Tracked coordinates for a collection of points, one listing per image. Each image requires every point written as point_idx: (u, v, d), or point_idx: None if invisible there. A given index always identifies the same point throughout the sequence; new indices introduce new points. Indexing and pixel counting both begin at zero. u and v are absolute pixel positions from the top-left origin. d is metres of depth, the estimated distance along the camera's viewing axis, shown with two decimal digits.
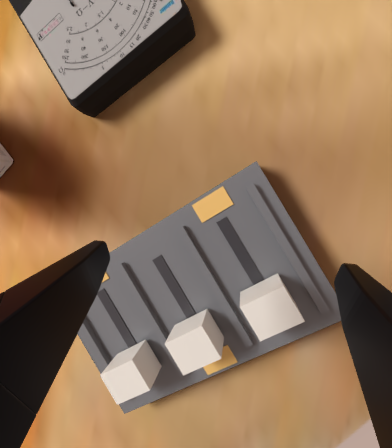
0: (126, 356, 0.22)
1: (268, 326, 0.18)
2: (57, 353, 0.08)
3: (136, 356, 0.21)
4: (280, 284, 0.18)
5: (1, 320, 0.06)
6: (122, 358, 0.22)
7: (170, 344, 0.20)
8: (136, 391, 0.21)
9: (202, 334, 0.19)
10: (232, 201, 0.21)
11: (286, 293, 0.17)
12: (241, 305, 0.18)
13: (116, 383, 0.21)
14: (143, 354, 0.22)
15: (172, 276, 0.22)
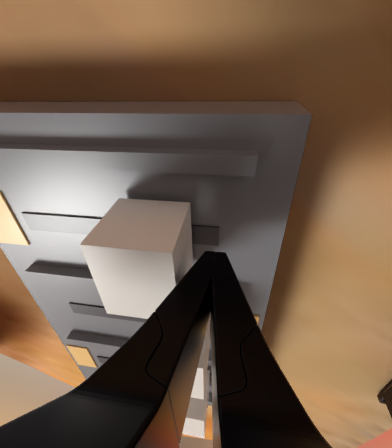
0: None
1: (157, 302, 0.09)
2: (193, 376, 0.07)
3: None
4: None
5: (178, 347, 0.05)
6: None
7: None
8: (198, 426, 0.16)
9: None
10: None
11: (97, 249, 0.08)
12: None
13: None
14: None
15: (102, 307, 0.16)
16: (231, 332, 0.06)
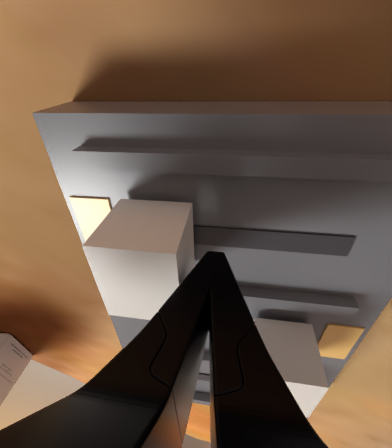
0: None
1: (159, 303, 0.09)
2: (196, 376, 0.07)
3: None
4: None
5: (182, 347, 0.05)
6: None
7: None
8: None
9: None
10: (102, 198, 0.10)
11: (100, 250, 0.07)
12: None
13: None
14: None
15: None
16: (228, 332, 0.06)
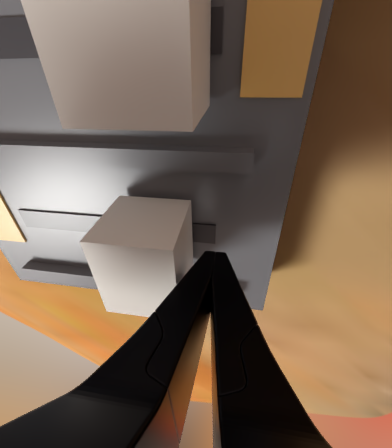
0: None
1: None
2: (193, 376, 0.07)
3: (95, 229, 0.08)
4: None
5: (178, 347, 0.05)
6: None
7: (68, 107, 0.05)
8: (164, 277, 0.08)
9: None
10: None
11: None
12: None
13: (131, 298, 0.09)
14: (120, 215, 0.09)
15: None
16: (231, 332, 0.06)
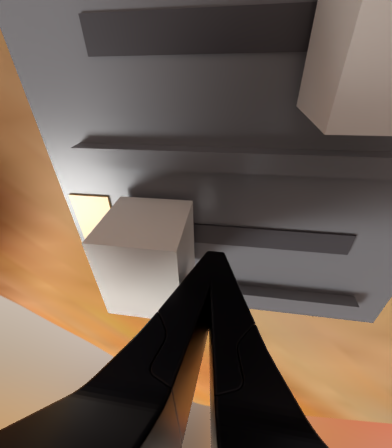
0: None
1: None
2: (195, 376, 0.07)
3: (97, 230, 0.08)
4: None
5: (181, 347, 0.05)
6: None
7: (349, 109, 0.04)
8: (167, 278, 0.08)
9: None
10: None
11: None
12: None
13: (133, 299, 0.09)
14: (122, 216, 0.09)
15: (159, 16, 0.07)
16: (228, 332, 0.06)
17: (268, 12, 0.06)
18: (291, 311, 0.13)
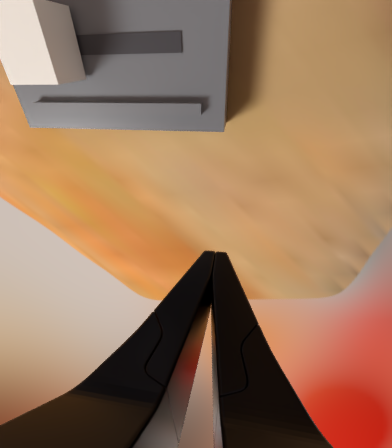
0: None
1: None
2: (192, 376, 0.07)
3: None
4: None
5: (177, 346, 0.05)
6: None
7: None
8: (34, 29, 0.12)
9: None
10: None
11: None
12: None
13: (22, 62, 0.13)
14: None
15: None
16: (232, 332, 0.06)
17: None
18: (166, 128, 0.17)
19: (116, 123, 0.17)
